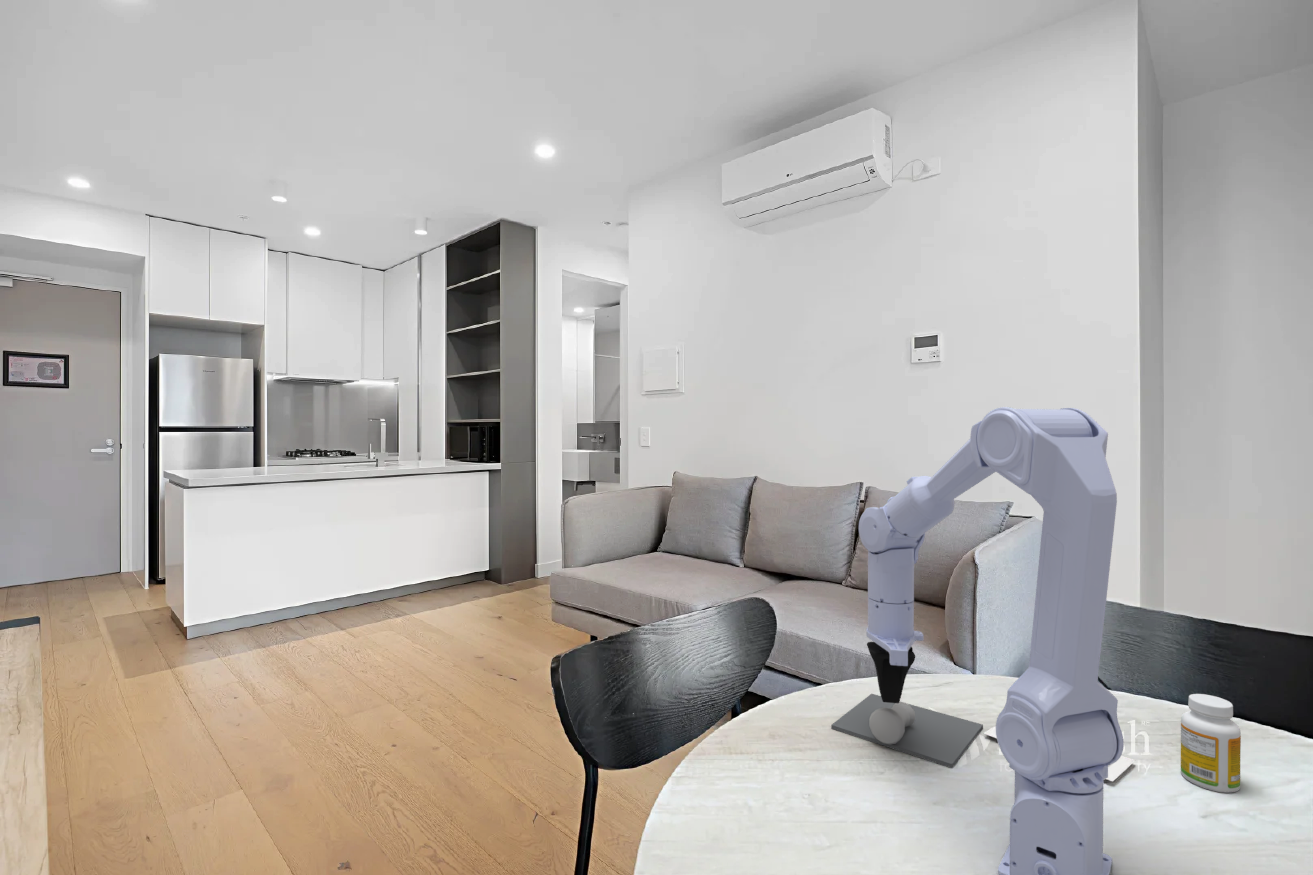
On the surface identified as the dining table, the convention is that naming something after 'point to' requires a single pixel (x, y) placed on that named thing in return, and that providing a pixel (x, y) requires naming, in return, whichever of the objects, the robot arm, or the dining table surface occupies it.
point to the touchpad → (1113, 769)
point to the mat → (915, 731)
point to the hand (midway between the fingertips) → (890, 700)
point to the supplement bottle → (1210, 744)
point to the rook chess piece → (891, 722)
